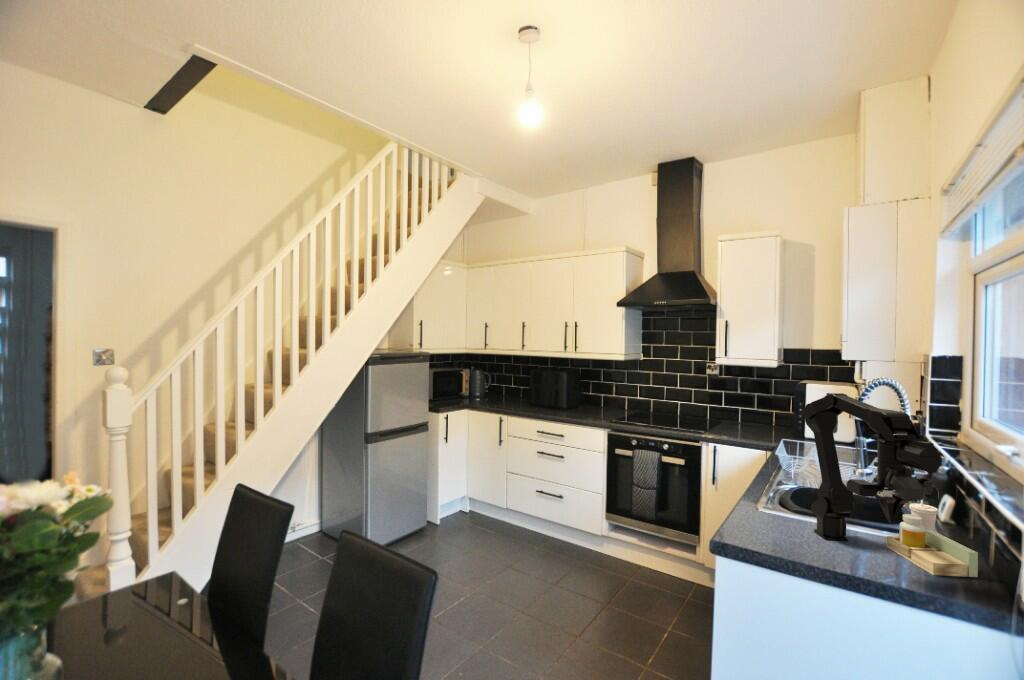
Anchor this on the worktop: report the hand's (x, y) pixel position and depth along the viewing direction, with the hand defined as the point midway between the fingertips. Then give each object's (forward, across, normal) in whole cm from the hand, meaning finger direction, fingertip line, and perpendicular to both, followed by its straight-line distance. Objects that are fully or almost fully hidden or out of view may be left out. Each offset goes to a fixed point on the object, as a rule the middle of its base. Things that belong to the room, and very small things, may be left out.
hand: (891, 522), depth 119 cm
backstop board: (+12, +18, +5) cm, 22 cm away
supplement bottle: (+12, +12, +10) cm, 20 cm away
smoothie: (+12, +23, +20) cm, 33 cm away
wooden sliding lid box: (+12, +13, +6) cm, 18 cm away
